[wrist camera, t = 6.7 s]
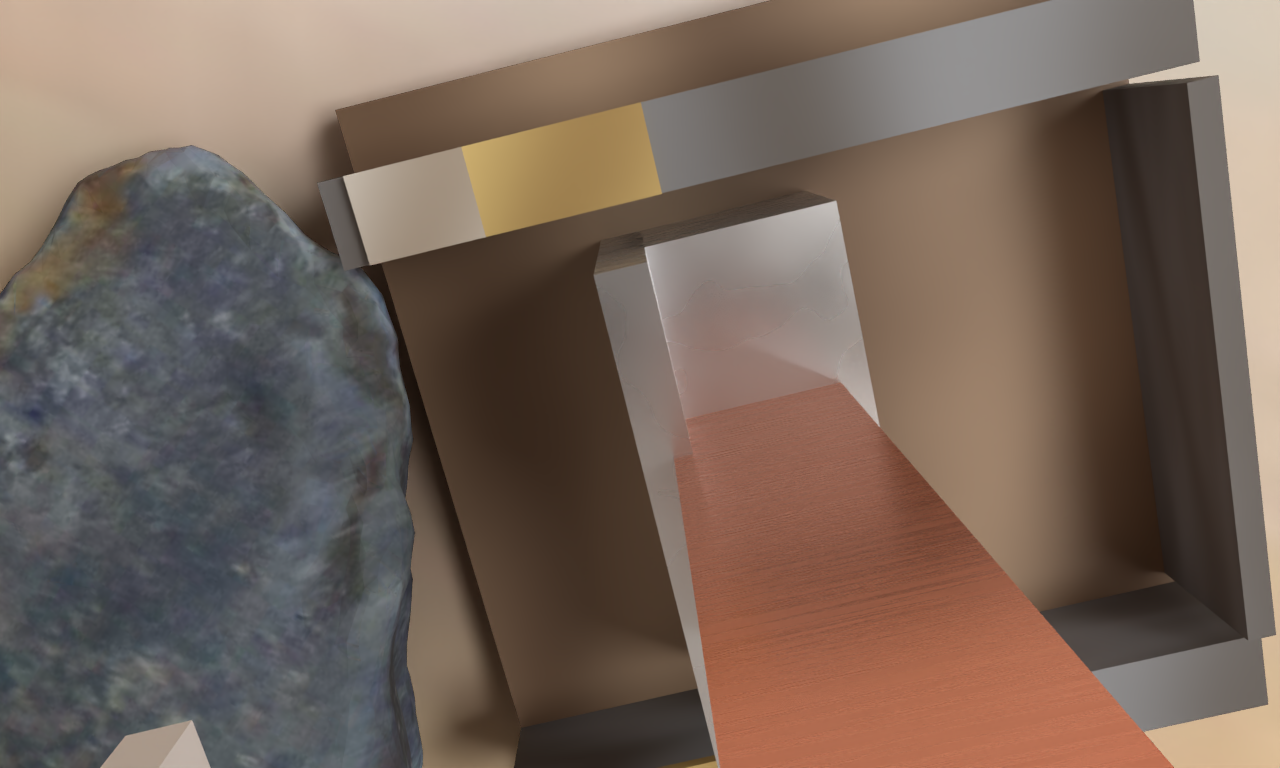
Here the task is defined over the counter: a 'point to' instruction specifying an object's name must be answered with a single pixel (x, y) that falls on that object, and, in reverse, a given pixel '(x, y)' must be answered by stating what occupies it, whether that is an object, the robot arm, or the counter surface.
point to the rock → (201, 484)
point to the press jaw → (822, 523)
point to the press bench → (888, 313)
